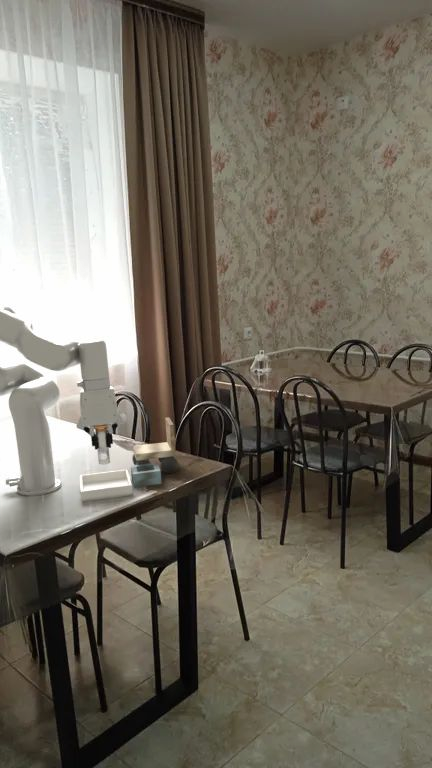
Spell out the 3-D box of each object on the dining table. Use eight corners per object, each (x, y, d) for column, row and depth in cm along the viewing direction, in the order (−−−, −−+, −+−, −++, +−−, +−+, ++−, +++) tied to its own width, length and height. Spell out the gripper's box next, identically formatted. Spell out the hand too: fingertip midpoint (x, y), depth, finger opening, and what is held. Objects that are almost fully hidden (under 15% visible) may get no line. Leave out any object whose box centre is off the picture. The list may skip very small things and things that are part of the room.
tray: (81, 501, 174) (80, 491, 173) (80, 484, 187) (79, 475, 186) (132, 495, 176) (131, 484, 176) (128, 478, 190) (127, 469, 189)
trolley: (134, 487, 182) (129, 437, 179) (128, 467, 201) (124, 421, 198) (183, 480, 185) (180, 431, 182) (173, 461, 204) (170, 416, 201)
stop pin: (96, 466, 177) (92, 426, 175) (96, 461, 182) (92, 422, 179) (112, 464, 178) (108, 424, 176) (111, 459, 182) (107, 421, 180)
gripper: (65, 389, 170) (73, 455, 174) (126, 383, 174) (133, 447, 177) (66, 384, 177) (73, 447, 181) (124, 378, 181) (130, 440, 184)
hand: (102, 446), depth 179 cm, fingers closed on stop pin, 3 cm apart
